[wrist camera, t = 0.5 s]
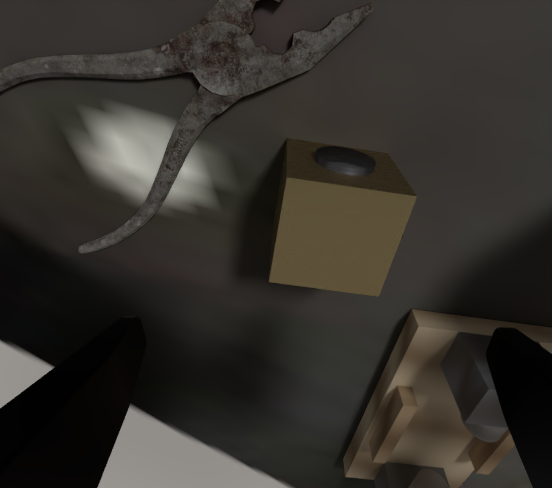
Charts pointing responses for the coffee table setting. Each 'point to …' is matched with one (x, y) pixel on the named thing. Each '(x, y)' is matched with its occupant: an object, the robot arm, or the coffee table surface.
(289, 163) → the block
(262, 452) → the coffee table surface
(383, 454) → the shaft stand
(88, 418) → the robot arm
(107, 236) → the pliers
